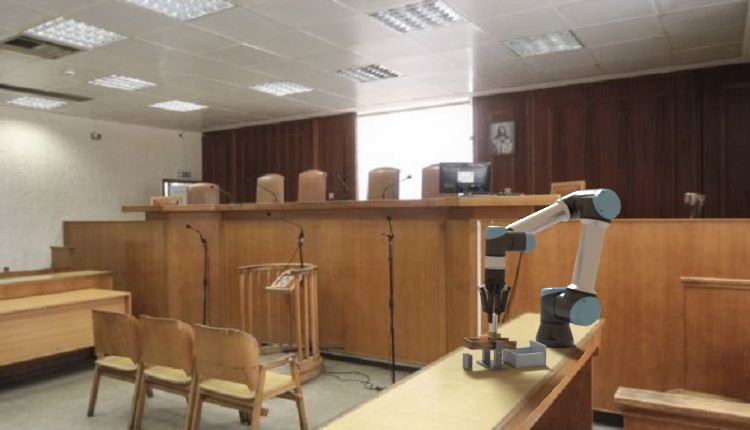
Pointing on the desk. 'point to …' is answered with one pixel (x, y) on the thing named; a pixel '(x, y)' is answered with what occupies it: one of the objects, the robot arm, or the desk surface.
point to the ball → (483, 338)
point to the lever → (488, 342)
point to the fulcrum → (487, 358)
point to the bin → (526, 355)
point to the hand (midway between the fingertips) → (493, 331)
